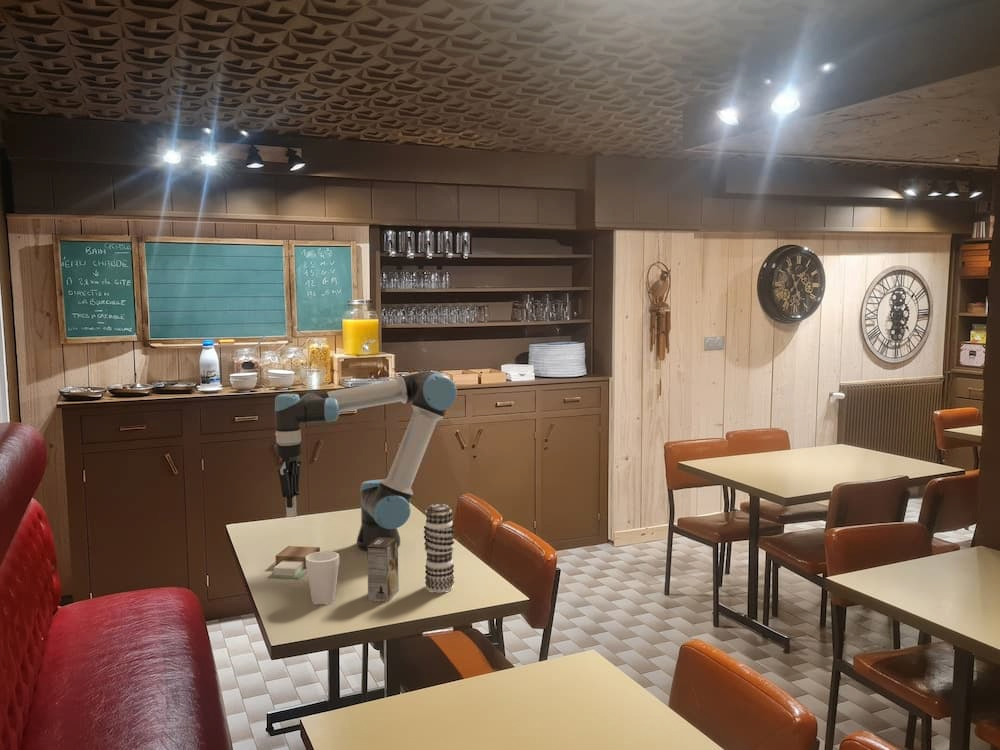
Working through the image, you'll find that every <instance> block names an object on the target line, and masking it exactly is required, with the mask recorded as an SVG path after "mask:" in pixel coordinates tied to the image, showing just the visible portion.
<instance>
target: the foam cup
mask: <svg viewBox="0 0 1000 750" xmlns="http://www.w3.org/2000/svg"><path fill="white" fill-rule="evenodd" d="M339 565H340V554H339V553H338V552H335V551H330V550H325V551H322V550H320V552H314V553H311V554H309V555H307V556H306V567H307V573H306V574H307V577H308V584H309V589H310V590H309V591H310V595H311V597H310V598H311V602H313V603H312V604H314V603H316V604H315V605H317V604H325V605H327V604H326V603H330V604H332V603H334V600H335V599H336V593H337V581H338V573H339V567H340V566H339ZM331 602H332V603H331Z"/></svg>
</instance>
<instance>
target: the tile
mask: <svg viewBox="0 0 1000 750" xmlns="http://www.w3.org/2000/svg"><path fill="white" fill-rule="evenodd" d="M303 568H304V561H282V562H280V563H279V564H278V565H277V566H276V565H275V566H274V567H273V572H274V575H288V576H296V575H297V574H298V573H299V572H300V571H301V570H302V569H303Z"/></svg>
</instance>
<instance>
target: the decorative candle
mask: <svg viewBox="0 0 1000 750" xmlns="http://www.w3.org/2000/svg"><path fill="white" fill-rule="evenodd" d="M424 512H425V513H426V515H425V517H426V520H425V525H424V526H423V529H424V531H423V533H424V536H423V539H424V541H425V542H424V544H423V545H424V551H425V553H426V559H425V562H426V564H425V565H424V566H425V571H424V572H425V577H424V579H425V582H424V583H425V585H426V586H425V590H426V589H427V590H428V591H427V590H426V591H427V592H429V591H431V592H430V593H433V592H437V593H436V594H441V593H440V592H445V593H447V592H446V591H449V592H450V590H451V589H453V590H454V588H455V586H454V583H455V581H454V579H455V576H454V572H455V570H454V566H455V565H454V563H453V562H454V561H453V552H454V547H453V545H454V544H455V541H454V539H455V536H454V535H453V533H454V532H455V531H456V530H455V528H454V527H455V526H456V524H454V523H453V513H452V512H453V510H452V508H450V506H449V505H447V504H445V503H434V504H431V505H428V507H427V509H426V510H424ZM453 587H454V588H453ZM451 591H452V590H451ZM438 592H439V593H438Z"/></svg>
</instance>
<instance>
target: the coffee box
mask: <svg viewBox="0 0 1000 750" xmlns="http://www.w3.org/2000/svg"><path fill="white" fill-rule="evenodd" d="M398 550H399V546H398V538H383V537H378V538H377V539H375V540H374V541H373V542H372V543H371V544H369V545H368V546H367V551H366V558H367V559H366V563H367V566H366V567H367V600H368V601H373V600H376V601H375V602H385V601H388V602H389V601H390V600H391V599H392V598H394V596H395V595H396V594H397V592H398V591H399V584H400V583H399V551H398ZM377 600H379V601H377Z"/></svg>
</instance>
